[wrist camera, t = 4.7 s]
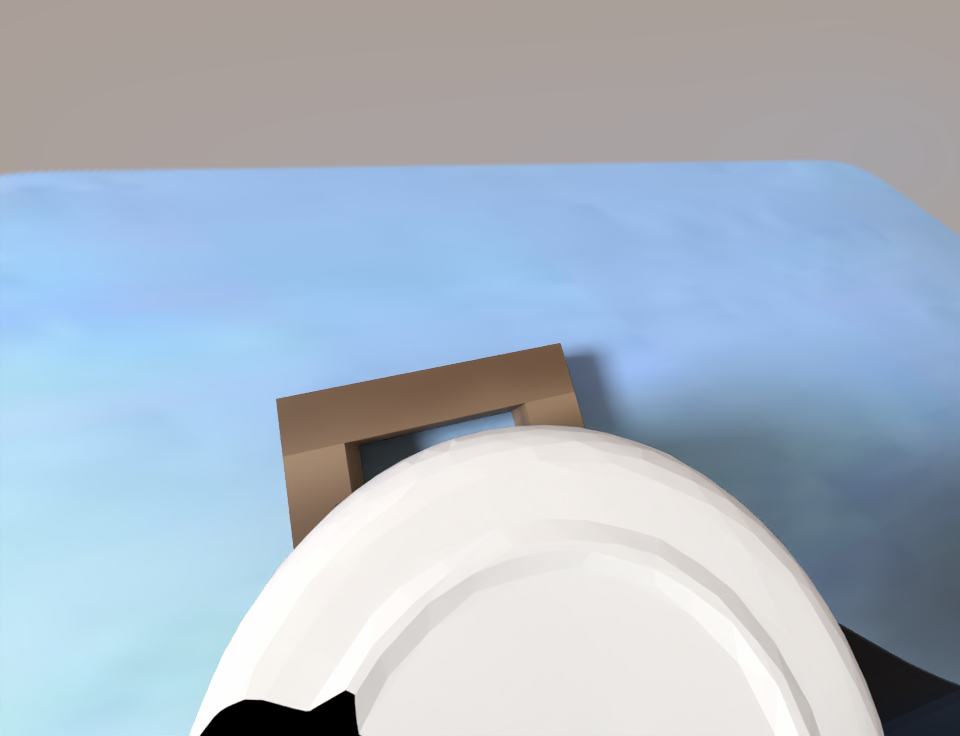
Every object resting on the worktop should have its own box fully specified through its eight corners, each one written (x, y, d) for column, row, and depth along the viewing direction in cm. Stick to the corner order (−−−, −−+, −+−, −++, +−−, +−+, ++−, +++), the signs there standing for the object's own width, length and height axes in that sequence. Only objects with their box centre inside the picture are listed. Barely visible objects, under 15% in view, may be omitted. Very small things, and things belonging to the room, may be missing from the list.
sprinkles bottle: (470, 428, 16) (634, 299, 3) (531, 522, 15) (1104, 913, 2) (375, 492, 15) (-69, 762, 2) (437, 595, 14) (457, 2168, 1)
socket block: (611, 609, 15) (645, 638, 12) (339, 700, 13) (317, 755, 11) (542, 359, 17) (560, 342, 14) (301, 408, 15) (276, 398, 13)
